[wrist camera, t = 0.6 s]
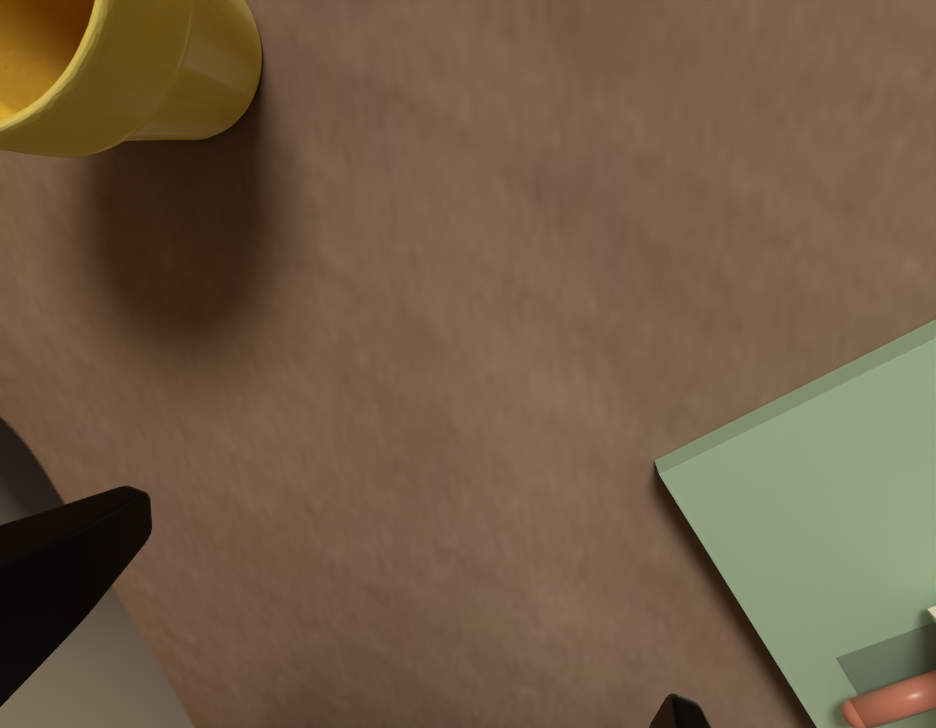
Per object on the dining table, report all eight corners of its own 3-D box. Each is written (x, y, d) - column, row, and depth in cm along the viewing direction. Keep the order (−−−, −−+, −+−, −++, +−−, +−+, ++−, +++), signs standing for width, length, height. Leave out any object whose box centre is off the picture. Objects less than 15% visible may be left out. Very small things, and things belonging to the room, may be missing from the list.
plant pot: (340, -38, 22) (149, -265, 12) (268, 219, 24) (65, 196, 15) (116, -117, 23) (-213, -378, 13) (71, 136, 25) (-232, 66, 16)
